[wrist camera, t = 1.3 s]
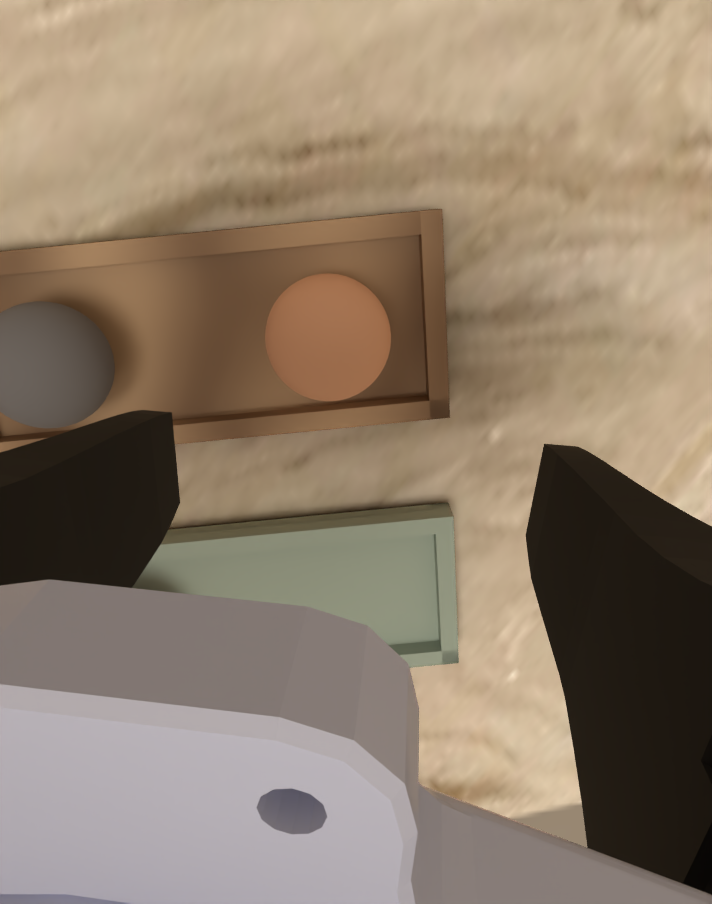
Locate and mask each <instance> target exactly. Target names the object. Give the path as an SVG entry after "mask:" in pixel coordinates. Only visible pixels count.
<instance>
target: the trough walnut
mask: <svg viewBox="0 0 712 904" xmlns="http://www.w3.org/2000/svg"><path fill="white" fill-rule="evenodd" d="M325 273H331V274H339V275H343V276H347V277H350V278H352V279H354V280H356V281H358V282H360V283H362V284H363V285H364V286H366V287H367V288H368V289H369V290H370V291H371V292H372V293H373V294H374V295H375V296H376V297H377V298H378V300H379V301H380V302H381V304H382V306H383V307H384V309H385V312H386V314H387V317H388V320H389V324H390V331H391V346H390V352H389V356H388V359H387V361H386V364H385V366H384V368H383V370H382V371H381V373H380V375H379V376H378V377H377V379H376V380H375V381H374V382H373V383H372V384H371V385H370V386H369V387H367V388H366V389H365V390H364V391H362V392H360V393H359V394H357V395H355V396H352V397H350V398H347V399H344V400H338V401H318V400H314V399H310V398H307V397H304V396H302V395H300V394H298V393H296V392H295V391H293V390H292V389H291V388H289V387H288V386H287V385H286V384H285V383H284V382H283V381H282V380H281V379H280V378H279V376H278V375H277V373H276V372H275V371H274V369H273V367H272V365H271V363H270V360H269V357H268V355H267V350H266V344H265V329H266V324H267V319H268V316H269V313H270V311H271V309H272V307H273V305H274V303H275V302H276V300H277V299H278V297H279V296H280V295H281V294H282V293H283V292H284V291H285V290H286V289H287V288H288V287H289V286H291V285H292V284H294V283H295V282H297V281H299V280H301V279H303V278H305V277H308V276H312V275H316V274H325ZM35 301H45V302H53V303H58V304H62V305H65V306H68V307H71V308H73V309H75V310H77V311H79V312H81V313H82V314H84V315H85V316H87V317H88V318H89V319H90V320H92V321H93V322H94V323H95V324H96V325H97V326H98V327H99V328H100V330H101V331H102V332H103V334H104V335H105V337H106V338H107V340H108V342H109V344H110V347H111V349H112V353H113V357H114V363H115V374H114V381H113V385H112V388H111V390H110V392H109V395H108V396H107V398H106V400H105V401H104V403H103V404H102V405H101V406H100V407H99V408H98V410H96V411H95V412H94V413H93V414H92V415H90V416H89V417H87V418H86V419H84V420H82V421H80V422H78V423H76V424H72V425H69V426H66V427H60V428H37V427H32V426H28V425H25V424H22V423H19V422H17V421H14V420H12V419H11V418H9V417H7V416H5V415H4V414H3V413H1V412H0V452H3V451H7V450H10V449H13V448H17V447H20V446H23V445H27V444H30V443H33V442H36V441H40V440H43V439H46V438H49V437H53V436H56V435H59V434H62V433H65V432H68V431H70V430H73V429H76V428H79V427H82V426H85V425H88V424H91V423H94V422H97V421H100V420H103V419H106V418H109V417H113V416H116V415H119V414H123V413H127V412H131V411H137V410H150V411H162V412H172V419H173V430H174V441H175V444H182V443H192V442H203V441H213V440H223V439H234V438H244V437H254V436H265V435H275V434H285V433H296V432H306V431H316V430H327V429H337V428H347V427H357V426H368V425H378V424H388V423H399V422H409V421H419V420H430V419H440V418H450V410H449V383H448V355H447V328H446V300H445V273H444V246H443V218H442V209H432V210H422V211H412V212H401V213H391V214H381V215H371V216H360V217H350V218H340V219H329V220H319V221H309V222H298V223H288V224H278V225H268V226H257V227H247V228H237V229H226V230H216V231H206V232H195V233H185V234H175V235H165V236H154V237H144V238H134V239H123V240H113V241H103V242H92V243H82V244H72V245H62V246H51V247H41V248H31V249H20V250H10V251H0V313H1V312H3V311H4V310H6V309H9V308H11V307H13V306H15V305H19V304H22V303H28V302H35Z"/></svg>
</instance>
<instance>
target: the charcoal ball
mask: <svg viewBox="0 0 712 904" xmlns="http://www.w3.org/2000/svg"><path fill="white" fill-rule="evenodd" d="M114 374H115V363H114V357H113V353H112V349H111V347H110V344H109V342H108V340H107V338H106V337H105V335H104V334H103V332H102V331H101V330H100V328H99V327H98V326H97V325H96V324H95V323H94V322H93V321H92V320H90V319H89V318H88V317H87V316H85V315H84V314H82V313H81V312H79V311H77V310H75V309H73V308H71V307H68V306H65V305H62V304H58V303H53V302H45V301H35V302H28V303H22V304H19V305H15V306H13V307H11V308H9V309H6V310H4V311H3V312H1V313H0V412H1V413H3V414H4V415H5V416H7V417H9V418H11V419H12V420H14V421H17V422H19V423H22V424H25V425H28V426H32V427H37V428H60V427H66V426H69V425H72V424H76V423H78V422H80V421H82V420H84V419H86V418H87V417H89V416H90V415H92V414H93V413H94V412H95V411H96V410H98V408H99V407H100V406H101V405H102V404H103V403H104V401H105V400H106V398H107V396H108V395H109V392H110V390H111V388H112V385H113V381H114Z"/></svg>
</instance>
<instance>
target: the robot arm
mask: <svg viewBox="0 0 712 904" xmlns="http://www.w3.org/2000/svg"><path fill="white" fill-rule="evenodd" d="M179 504H180V497H179V486H178V475H177V464H176V453H175V441H174V430H173V419H172V412H162V411H150V410H137V411H131V412H127V413H123V414H119V415H116V416H113V417H109V418H106V419H103V420H100V421H97V422H94V423H91V424H88V425H85V426H82V427H79V428H76V429H73V430H70V431H68V432H65V433H62V434H59V435H56V436H53V437H49V438H46V439H43V440H40V441H36V442H33V443H30V444H27V445H23V446H20V447H17V448H13V449H10V450H7V451H3V452H0V904H712V526H710V525H708V524H706V523H704V522H702V521H700V520H698V519H696V518H694V517H692V516H691V515H689V514H687V513H685V512H684V511H682V510H680V509H678V508H677V507H675V506H673V505H671V504H670V503H668V502H666V501H665V500H663V499H661V498H660V497H658V496H656V495H655V494H653V493H652V492H650V491H648V490H647V489H645V488H644V487H642V486H640V485H639V484H637V483H636V482H634V481H633V480H631V479H630V478H628V477H627V476H625V475H624V474H622V473H621V472H619V471H618V470H616V469H615V468H613V467H612V466H610V465H609V464H607V463H605V462H604V461H602V460H601V459H599V458H598V457H596V456H594V455H593V454H591V453H589V452H588V451H586V450H584V449H582V448H579V447H575V446H563V445H552V444H544V447H543V452H542V457H541V462H540V467H539V472H538V477H537V482H536V487H535V492H534V497H533V502H532V507H531V512H530V517H529V522H528V527H527V532H526V542H527V550H528V559H529V566H530V573H531V579H532V582H533V586H534V590H535V593H536V597H537V600H538V604H539V607H540V611H541V614H542V617H543V621H544V624H545V628H546V631H547V634H548V638H549V641H550V644H551V648H552V651H553V655H554V658H555V661H556V665H557V668H558V671H559V675H560V679H561V683H562V687H563V691H564V696H565V700H566V706H567V712H568V718H569V724H570V730H571V735H572V741H573V747H574V754H575V760H576V767H577V774H578V780H579V787H580V794H581V800H582V807H583V815H584V822H585V831H586V838H587V846H588V848H586V847H584V846H581V845H578V844H576V843H573V842H570V841H568V840H565V839H563V838H560V837H557V836H555V835H552V834H549V833H547V832H544V831H541V830H539V829H536V828H533V827H530V826H528V825H525V824H523V823H520V822H517V821H515V820H512V819H510V818H507V817H504V816H502V815H499V814H496V813H494V812H491V811H488V810H486V809H483V808H480V807H478V806H475V805H472V804H470V803H467V802H464V801H462V800H459V799H456V798H454V797H451V796H449V795H446V794H443V793H441V792H438V791H435V790H433V789H430V788H427V787H425V786H422V785H421V784H420V783H419V782H418V762H419V706H418V702H417V698H416V693H415V689H414V685H413V681H412V676H411V672H410V668H409V664H408V663H407V662H406V661H405V660H404V659H403V658H402V657H401V656H399V655H398V654H397V653H396V652H395V651H394V650H393V649H392V648H391V647H390V646H389V645H388V644H387V643H386V642H385V641H383V640H382V639H381V638H380V637H379V636H378V635H377V634H376V633H375V632H374V631H373V630H372V629H371V628H370V627H368V626H367V625H364V624H361V623H358V622H354V621H351V620H348V619H345V618H342V617H339V616H336V615H332V614H329V613H326V612H323V611H320V610H317V609H314V608H311V607H307V606H298V605H288V604H279V603H269V602H260V601H250V600H241V599H231V598H222V597H212V596H203V595H193V594H184V593H174V592H164V591H155V590H145V589H136V588H132V587H133V586H134V584H135V583H136V581H137V580H138V578H139V577H140V575H141V574H142V572H143V571H144V569H145V568H146V566H147V565H148V563H149V562H150V560H151V559H152V557H153V555H154V554H155V552H156V551H157V549H158V548H159V546H160V545H161V543H162V541H163V539H164V537H165V535H166V533H167V531H168V529H169V527H170V525H171V522H172V520H173V518H174V515H175V513H176V511H177V508H178V506H179Z"/></svg>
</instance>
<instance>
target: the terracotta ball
mask: <svg viewBox="0 0 712 904" xmlns="http://www.w3.org/2000/svg"><path fill="white" fill-rule="evenodd" d="M265 344H266V350H267V355H268V357H269V360H270V363H271V365H272V367H273V369H274V371H275V372H276V373H277V375H278V376H279V378H280V379H281V380H282V381H283V382H284V383H285V384H286V385H287V386H288V387H289V388H291V389H292V390H293V391H295V392H296V393H298V394H300V395H302V396H304V397H307V398H310V399H314V400H318V401H338V400H344V399H347V398H350V397H352V396H355V395H357V394H359V393H360V392H362V391H364V390H365V389H366V388H367V387H369V386H370V385H371V384H372V383H373V382H374V381H375V380H376V379H377V377H378V376H379V375H380V373H381V371H382V370H383V368H384V366H385V364H386V361H387V359H388V356H389V352H390V346H391V331H390V324H389V320H388V317H387V314H386V312H385V309H384V307H383V306H382V304H381V302H380V301H379V300H378V298H377V297H376V296H375V295H374V294H373V293H372V292H371V291H370V290H369V289H368V288H367V287H366V286H364V285H363V284H362V283H360V282H358V281H356V280H354V279H352V278H350V277H347V276H343V275H339V274H331V273H325V274H316V275H312V276H308V277H305V278H303V279H301V280H299V281H297V282H295V283H294V284H292V285H291V286H289V287H288V288H287V289H286V290H285V291H284V292H283V293H282V294H281V295H280V296H279V297H278V299H277V300H276V302H275V303H274V305H273V307H272V309H271V311H270V313H269V316H268V319H267V324H266V329H265Z"/></svg>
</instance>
